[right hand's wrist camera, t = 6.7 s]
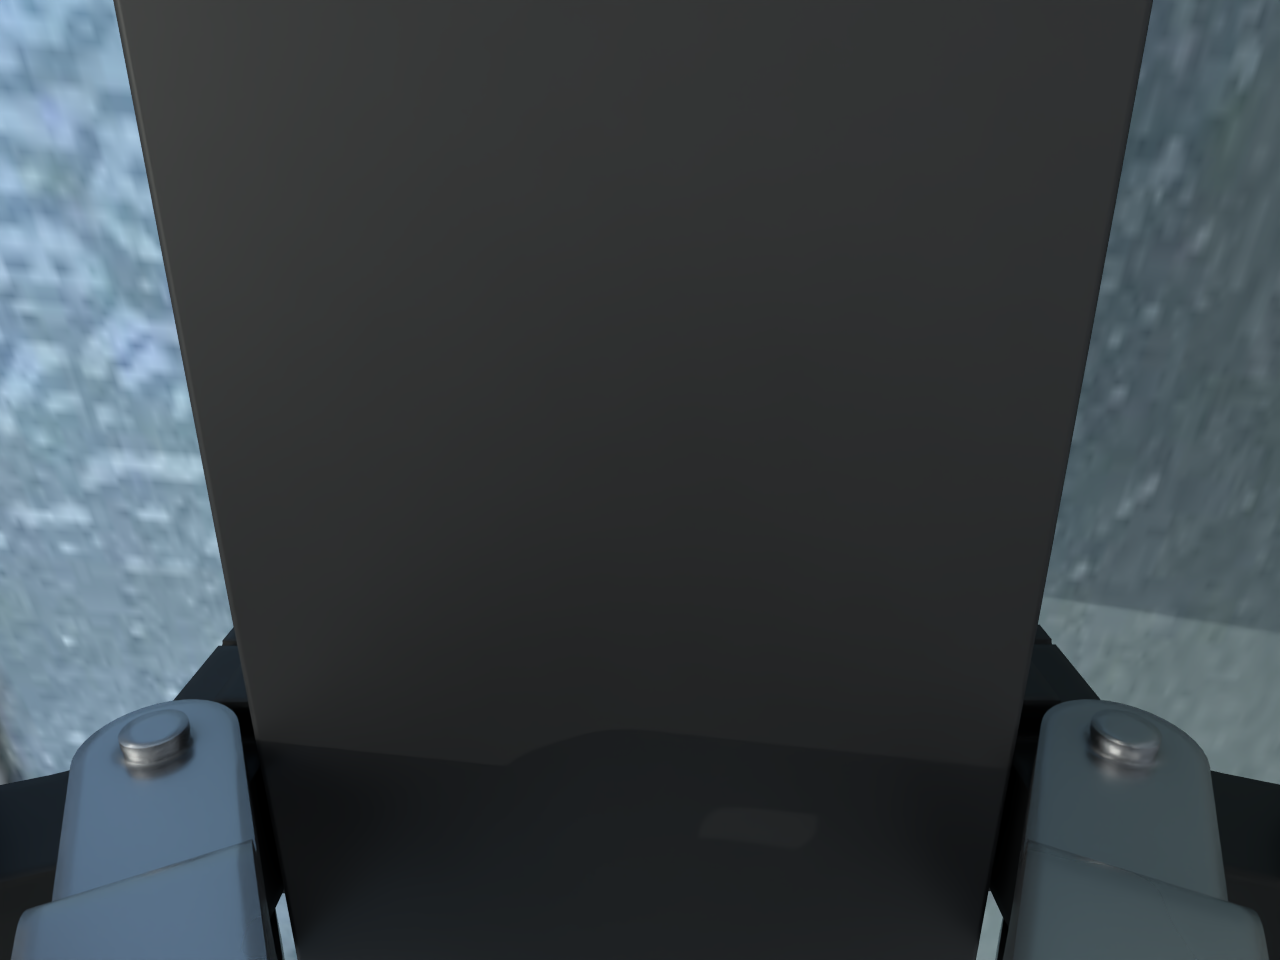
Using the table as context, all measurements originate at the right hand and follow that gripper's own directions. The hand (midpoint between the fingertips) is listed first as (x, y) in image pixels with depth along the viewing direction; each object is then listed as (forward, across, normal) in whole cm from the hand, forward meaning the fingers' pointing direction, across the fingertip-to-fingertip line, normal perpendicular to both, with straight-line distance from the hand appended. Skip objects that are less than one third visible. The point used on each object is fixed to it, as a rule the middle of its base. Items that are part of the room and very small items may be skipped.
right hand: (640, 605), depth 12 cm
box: (+8, 0, +9) cm, 12 cm away
